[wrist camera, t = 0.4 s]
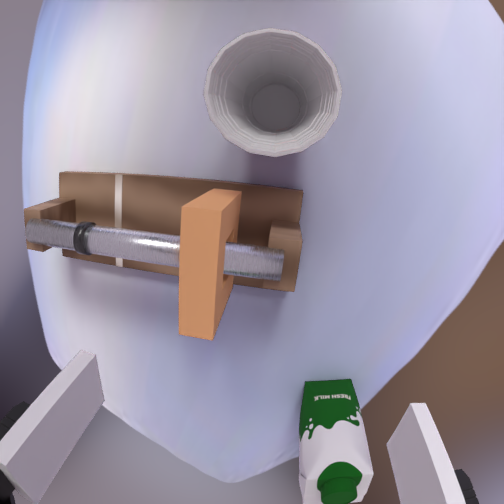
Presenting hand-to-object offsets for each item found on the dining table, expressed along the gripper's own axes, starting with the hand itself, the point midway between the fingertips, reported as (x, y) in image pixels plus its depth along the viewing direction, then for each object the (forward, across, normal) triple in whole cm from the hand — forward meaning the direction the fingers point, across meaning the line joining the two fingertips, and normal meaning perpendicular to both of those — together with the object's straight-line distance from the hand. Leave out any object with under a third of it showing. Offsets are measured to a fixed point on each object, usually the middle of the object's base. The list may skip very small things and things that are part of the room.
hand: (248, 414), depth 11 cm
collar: (+24, -5, 0) cm, 25 cm away
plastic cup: (+28, -2, +15) cm, 32 cm away
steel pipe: (+21, -13, 0) cm, 25 cm away
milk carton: (+28, +12, -24) cm, 39 cm away
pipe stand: (+28, -14, 0) cm, 31 cm away
